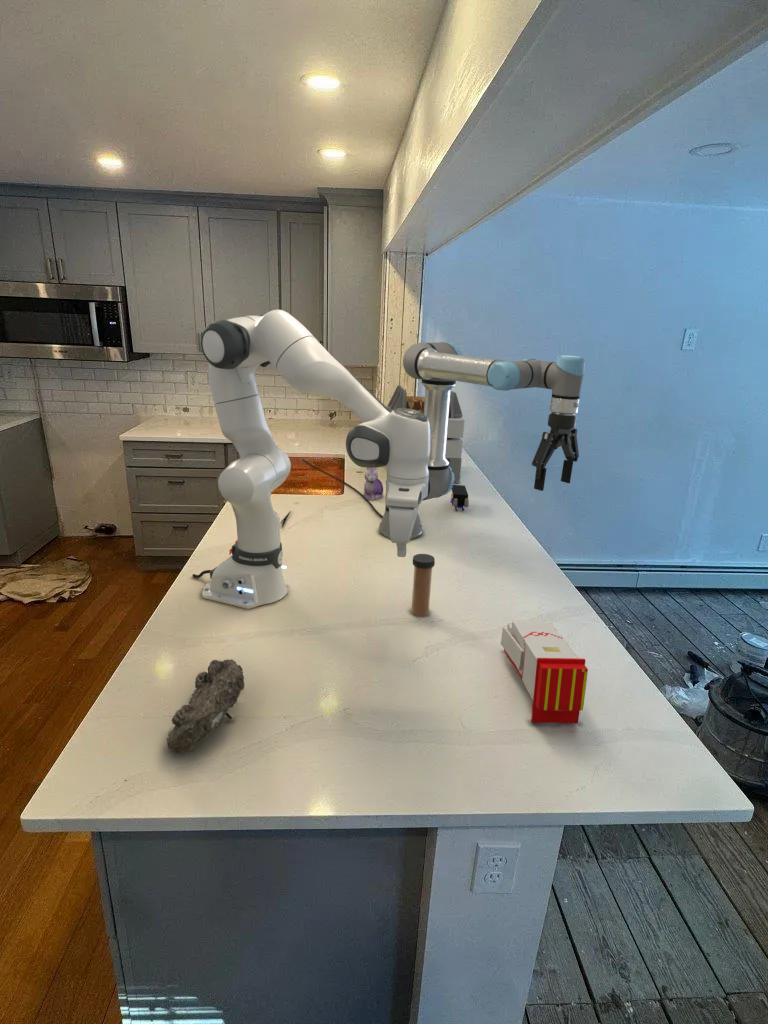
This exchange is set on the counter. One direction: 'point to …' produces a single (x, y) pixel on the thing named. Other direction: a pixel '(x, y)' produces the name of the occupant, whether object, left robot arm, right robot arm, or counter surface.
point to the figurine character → (459, 497)
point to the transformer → (453, 429)
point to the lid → (423, 561)
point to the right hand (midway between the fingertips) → (552, 485)
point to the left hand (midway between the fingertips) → (404, 547)
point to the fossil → (206, 705)
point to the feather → (285, 518)
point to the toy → (547, 670)
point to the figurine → (372, 485)
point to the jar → (421, 591)
